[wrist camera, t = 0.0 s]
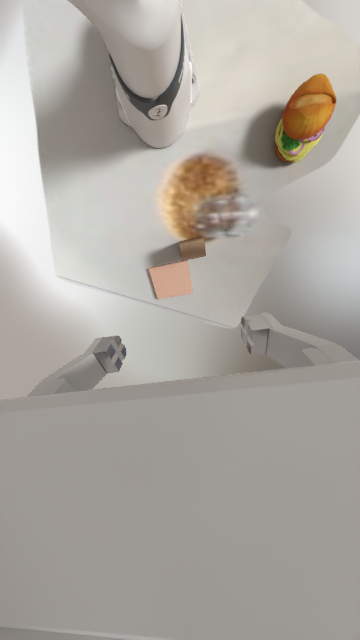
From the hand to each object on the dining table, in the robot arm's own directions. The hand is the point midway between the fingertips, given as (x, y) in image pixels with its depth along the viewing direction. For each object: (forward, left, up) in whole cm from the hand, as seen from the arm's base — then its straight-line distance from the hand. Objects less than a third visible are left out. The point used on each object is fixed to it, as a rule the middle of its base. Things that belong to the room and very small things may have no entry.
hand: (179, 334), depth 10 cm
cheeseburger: (-20, +31, -48) cm, 61 cm away
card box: (0, +3, -48) cm, 48 cm away
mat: (+10, -6, -48) cm, 49 cm away
